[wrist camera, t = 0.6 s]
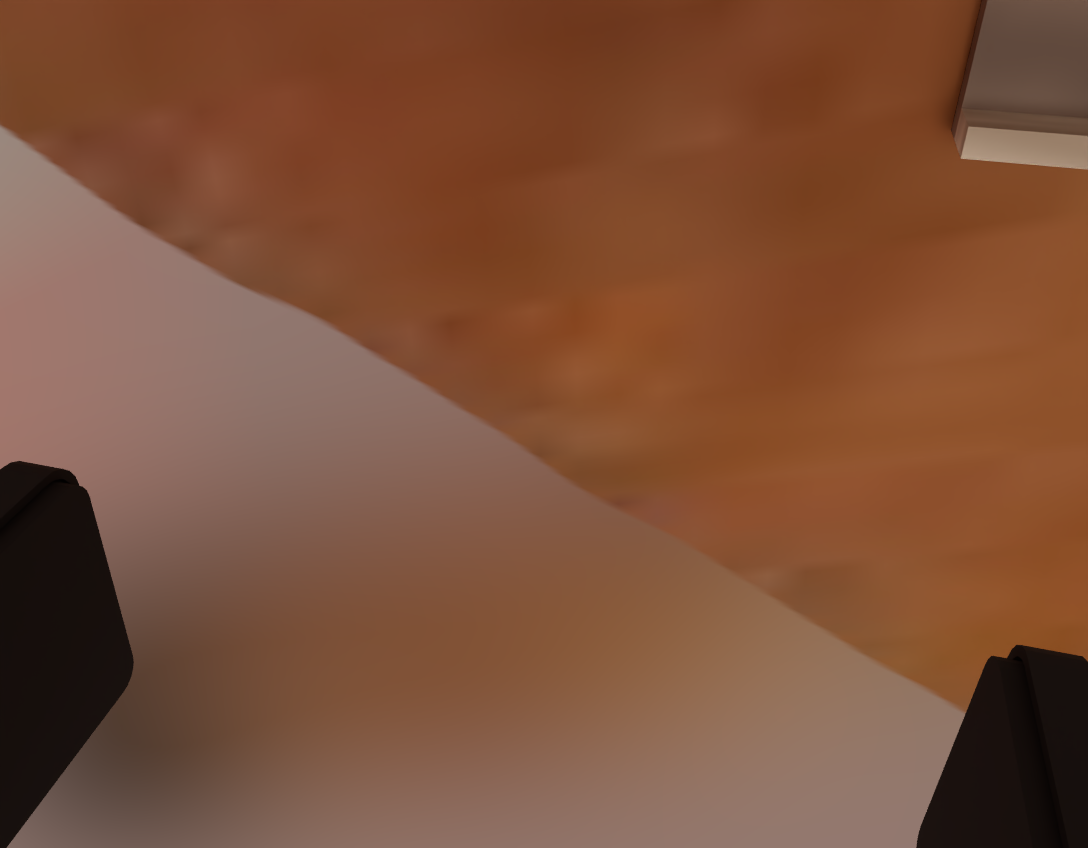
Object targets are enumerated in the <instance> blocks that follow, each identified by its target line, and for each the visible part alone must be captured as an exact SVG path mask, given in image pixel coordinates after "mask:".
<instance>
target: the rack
mask: <svg viewBox="0 0 1088 848" xmlns="http://www.w3.org/2000/svg"><path fill="white" fill-rule="evenodd" d="M951 131H952V134H953V137H954V140H955V143H956V146H957V149H958V152H959V155H960V158H961V159H973V160H984V161H996V162H1008V163H1019V164H1031V165H1042V166H1054V167H1065V168H1077V169H1088V0H982V2H981V7H980V11H979V15H978V19H977V24H976V28H975V32H974V36H973V40H972V45H971V49H970V53H969V57H968V62H967V66H966V70H965V74H964V78H963V83H962V87H961V91H960V95H959V100H958V104H957V108H956V112H955V117H954V121H953V125H952V129H951Z"/></svg>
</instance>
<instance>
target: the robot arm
mask: <svg viewBox="0 0 1088 848" xmlns="http://www.w3.org/2000/svg"><path fill="white" fill-rule="evenodd" d="M132 670H133V655H132V651H131V647H130V644H129V640H128V637H127V633H126V629H125V625H124V622H123V618H122V614H121V611H120V607H119V603H118V600H117V596H116V592H115V588H114V585H113V581H112V577H111V574H110V570H109V567H108V563H107V559H106V555H105V552H104V548H103V544H102V541H101V537H100V533H99V529H98V526H97V522H96V519H95V515H94V511H93V508H92V504H91V500H90V497H89V494H88V492H87V490H86V489H85V488H83V487H81V486H79V483H78V481H77V479H76V477H75V476H74V475H73V474H72V473H71V472H70V471H68V470H64V469H59V468H54V467H49V466H43V465H38V464H33V463H27V462H22V461H17V462H12V463H9V464H8V465H6V466H5V467H3V468H2V469H0V848H7V846H8V845H9V844H10V842H11V841H12V840H13V838H14V837H15V836H16V834H17V833H18V832H19V830H20V829H21V828H22V826H23V825H24V824H25V822H26V821H27V820H28V818H29V817H30V816H31V814H32V813H33V812H34V810H35V809H36V808H37V806H38V805H39V804H40V802H41V801H42V800H43V798H44V797H45V796H46V794H47V793H48V792H49V790H50V789H51V788H52V786H53V785H54V784H55V782H56V781H57V780H58V778H59V777H60V775H61V774H62V773H63V772H64V770H65V769H66V768H67V766H68V765H69V764H70V762H71V761H72V760H73V758H74V757H75V756H76V754H77V753H78V752H79V750H80V749H81V748H82V747H83V745H84V744H85V742H86V741H87V740H88V739H89V737H90V736H91V734H92V733H93V732H94V730H95V729H96V728H97V726H98V725H99V724H100V723H101V721H102V720H103V719H104V717H105V716H106V714H107V713H108V712H109V711H110V709H111V708H112V707H113V705H114V704H115V703H116V701H117V700H118V698H119V697H120V696H121V695H122V693H123V692H124V690H125V689H126V687H127V685H128V683H129V681H130V678H131V675H132ZM916 848H1088V662H1087V660H1086V659H1085V658H1084V657H1083V656H1077V655H1072V654H1067V653H1061V652H1056V651H1050V650H1045V649H1039V648H1034V647H1029V646H1023V645H1016V646H1015V647H1014V648H1013V649H1012V650H1011V652H1010V654H1009V656H1008V657H1007V658H1002V657H996V656H991V657H990V658H989V659H988V660H987V662H986V664H985V667H984V669H983V672H982V674H981V677H980V679H979V682H978V684H977V687H976V689H975V692H974V694H973V697H972V699H971V702H970V704H969V707H968V709H967V712H966V714H965V717H964V719H963V722H962V724H961V727H960V729H959V732H958V734H957V737H956V739H955V742H954V744H953V747H952V749H951V752H950V754H949V757H948V760H947V762H946V764H945V767H944V770H943V772H942V775H941V777H940V779H939V782H938V785H937V787H936V789H935V792H934V794H933V797H932V800H931V802H930V804H929V807H928V809H927V812H926V814H925V817H924V820H923V822H922V824H921V828H920V831H919V835H918V840H917V847H916Z"/></svg>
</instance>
